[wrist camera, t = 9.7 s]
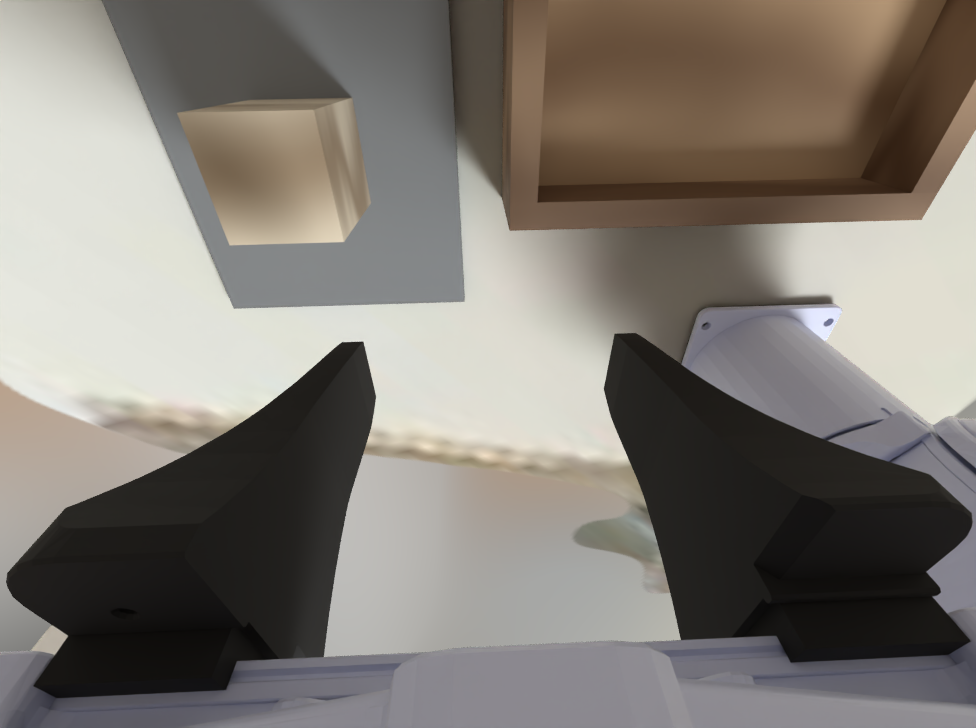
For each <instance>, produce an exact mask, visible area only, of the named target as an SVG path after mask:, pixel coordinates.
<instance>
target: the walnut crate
mask: <svg viewBox="0 0 976 728" xmlns="http://www.w3.org/2000/svg"><path fill="white" fill-rule="evenodd" d="M975 130H976V0H503V138H502V200H503V204H504V209H505V213H506V217H507V221H508V225H509V230H510V231H511V230H549V229H587V228H625V227H663V226H701V225H739V224H777V223H815V222H853V221H891V220H922V218H923V216H924V215H925V213H926V211H927V210H928V208H929V206H930V205H931V203H932V201H933V200H934V198H935V196H936V195H937V193H938V191H939V190H940V188H941V186H942V185H943V183H944V181H945V180H946V178H947V176H948V175H949V173H950V171H951V170H952V168H953V166H954V165H955V163H956V161H957V160H958V158H959V156H960V155H961V153H962V151H963V150H964V148H965V146H966V145H967V143H968V141H969V140H970V138H971V136H972V135H973V133H974V131H975Z"/></svg>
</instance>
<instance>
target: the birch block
mask: <svg viewBox="0 0 976 728" xmlns="http://www.w3.org/2000/svg"><path fill="white" fill-rule="evenodd" d="M177 114H178V117H179V119H180V122H181V124H182V127H183V129H184V132H185V134H186V137H187V140H188V142H189V145H190V147H191V150H192V152H193V155H194V157H195V160H196V162H197V165H198V167H199V170H200V172H201V175H202V177H203V180H204V182H205V185H206V187H207V190H208V192H209V195H210V197H211V200H212V202H213V205H214V207H215V210H216V212H217V215H218V218H219V220H220V223H221V225H222V228H223V230H224V233H225V235H226V238H227V240H228V243H229V245H260V244H295V243H330V242H344V241H345V240H346V238H347V237H348V235H349V234H350V233H351V231H352V230H353V228H354V227H355V225H356V224H357V222H358V221H359V220H360V218H361V217H362V215H363V214H364V212H365V211H366V210H367V208H368V207H369V205H370V204H371V200H370V194H369V189H368V183H367V177H366V172H365V166H364V160H363V155H362V149H361V144H360V138H359V132H358V127H357V121H356V115H355V110H354V104H353V99H352V98H315V99H269V100H247V101H241V102H235V103H230V104H224V105H218V106H213V107H207V108H201V109H196V110H190V111H185V112H179V113H177Z"/></svg>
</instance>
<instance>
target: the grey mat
mask: <svg viewBox="0 0 976 728" xmlns="http://www.w3.org/2000/svg"><path fill="white" fill-rule="evenodd" d="M102 2H103V4H104V6H105V9H106V11H107V13H108V16H109V18H110V20H111V23H112V25H113V27H114V30H115V32H116V34H117V37H118V39H119V41H120V44H121V46H122V48H123V51H124V53H125V55H126V58H127V60H128V62H129V65H130V67H131V69H132V72H133V74H134V76H135V79H136V81H137V83H138V86H139V88H140V90H141V93H142V95H143V97H144V100H145V102H146V104H147V107H148V109H149V111H150V114H151V116H152V118H153V121H154V123H155V125H156V128H157V130H158V132H159V135H160V137H161V139H162V142H163V144H164V146H165V149H166V151H167V153H168V156H169V158H170V160H171V163H172V165H173V167H174V170H175V172H176V174H177V177H178V179H179V181H180V184H181V186H182V188H183V191H184V193H185V195H186V198H187V200H188V202H189V205H190V207H191V209H192V212H193V214H194V216H195V219H196V221H197V223H198V226H199V228H200V231H201V233H202V235H203V238H204V240H205V242H206V245H207V247H208V249H209V252H210V254H211V256H212V259H213V261H214V263H215V266H216V268H217V270H218V273H219V275H220V277H221V280H222V282H223V284H224V287H225V289H226V291H227V294H228V296H229V298H230V301H231V303H232V305H233V308H268V307H302V306H335V305H369V304H402V303H436V302H464V297H465V296H464V277H463V259H462V240H461V221H460V202H459V183H458V165H457V146H456V127H455V108H454V90H453V71H452V52H451V33H450V15H449V0H102ZM315 98H352V99H353V104H354V110H355V115H356V121H357V127H358V132H359V138H360V144H361V149H362V155H363V160H364V166H365V172H366V177H367V183H368V189H369V194H370V200H371V204H370V205H369V207H368V208H367V210H366V211H365V212H364V214H363V215H362V217H361V218H360V220H359V221H358V222H357V224H356V225H355V227H354V228H353V230H352V231H351V233H350V234H349V235H348V237H347V238H346V240H345V241H344V242H330V243H295V244H260V245H229V243H228V240H227V238H226V235H225V233H224V230H223V228H222V225H221V223H220V220H219V218H218V215H217V212H216V210H215V207H214V205H213V202H212V200H211V197H210V195H209V192H208V190H207V187H206V185H205V182H204V180H203V177H202V175H201V172H200V170H199V167H198V165H197V162H196V160H195V157H194V155H193V152H192V150H191V147H190V145H189V142H188V140H187V137H186V134H185V132H184V129H183V127H182V124H181V122H180V119H179V117H178V114H177V113H179V112H185V111H190V110H196V109H201V108H207V107H213V106H218V105H224V104H230V103H235V102H241V101H247V100H269V99H315Z"/></svg>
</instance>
